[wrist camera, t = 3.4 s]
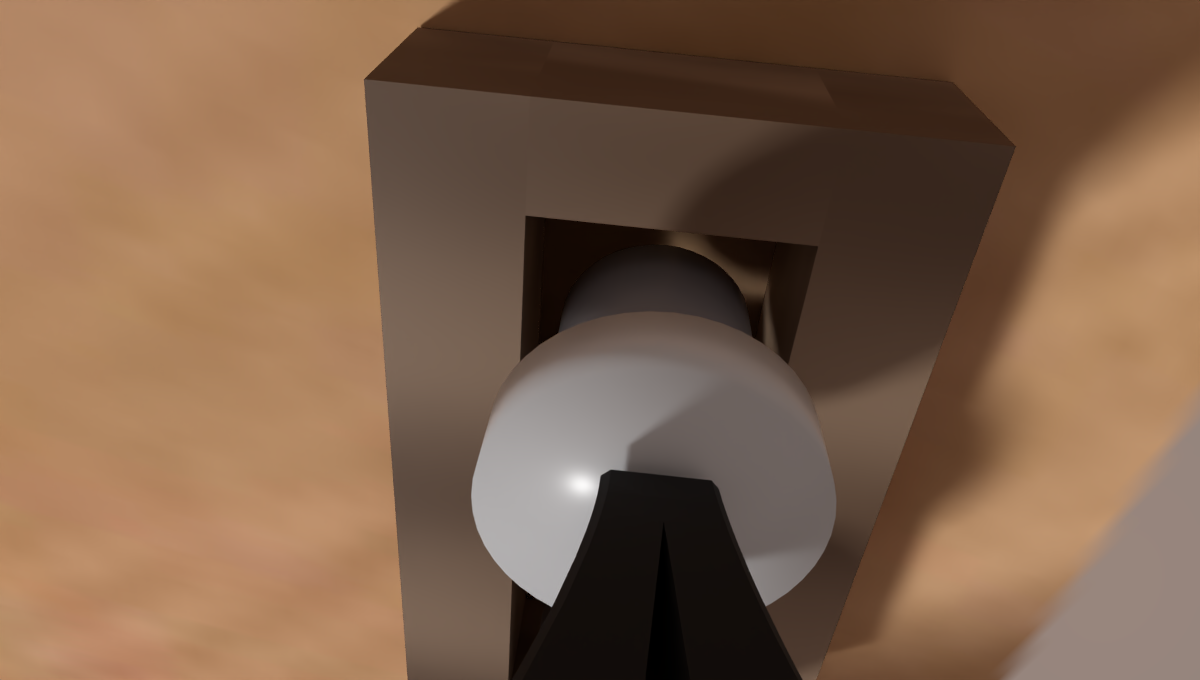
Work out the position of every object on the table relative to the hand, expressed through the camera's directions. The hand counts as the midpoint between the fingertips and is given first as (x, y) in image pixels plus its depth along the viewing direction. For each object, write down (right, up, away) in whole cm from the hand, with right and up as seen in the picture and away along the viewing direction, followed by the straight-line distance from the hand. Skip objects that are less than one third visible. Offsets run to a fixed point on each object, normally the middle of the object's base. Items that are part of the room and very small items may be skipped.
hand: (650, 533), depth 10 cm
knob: (0, +3, +4) cm, 5 cm away
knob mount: (0, +1, +8) cm, 8 cm away
